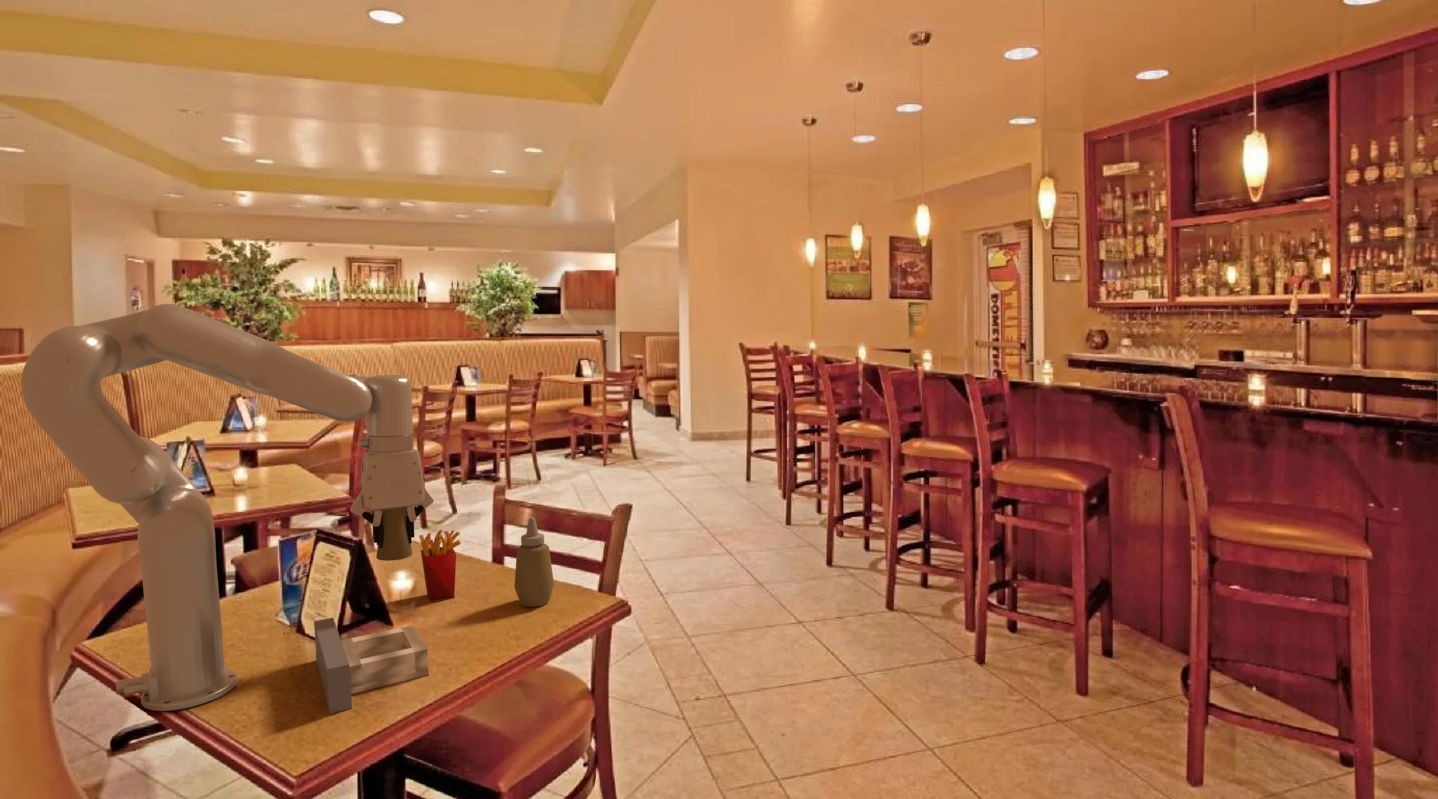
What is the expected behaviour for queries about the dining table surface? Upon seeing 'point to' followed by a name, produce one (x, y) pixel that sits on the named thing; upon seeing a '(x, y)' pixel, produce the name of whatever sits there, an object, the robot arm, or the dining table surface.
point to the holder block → (385, 658)
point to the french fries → (439, 565)
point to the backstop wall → (332, 665)
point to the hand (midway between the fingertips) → (394, 543)
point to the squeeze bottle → (533, 568)
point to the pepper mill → (394, 535)
